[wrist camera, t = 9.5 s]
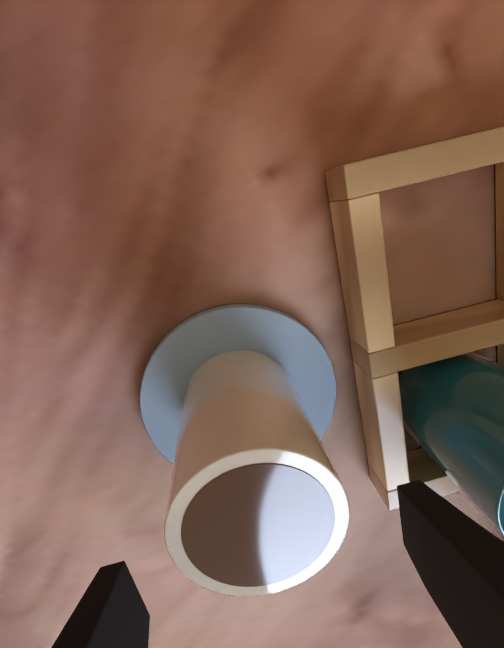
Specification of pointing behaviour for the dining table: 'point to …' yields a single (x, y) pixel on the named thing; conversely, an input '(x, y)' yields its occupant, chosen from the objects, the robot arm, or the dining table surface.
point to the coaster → (224, 336)
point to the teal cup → (461, 425)
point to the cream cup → (250, 482)
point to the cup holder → (375, 306)
